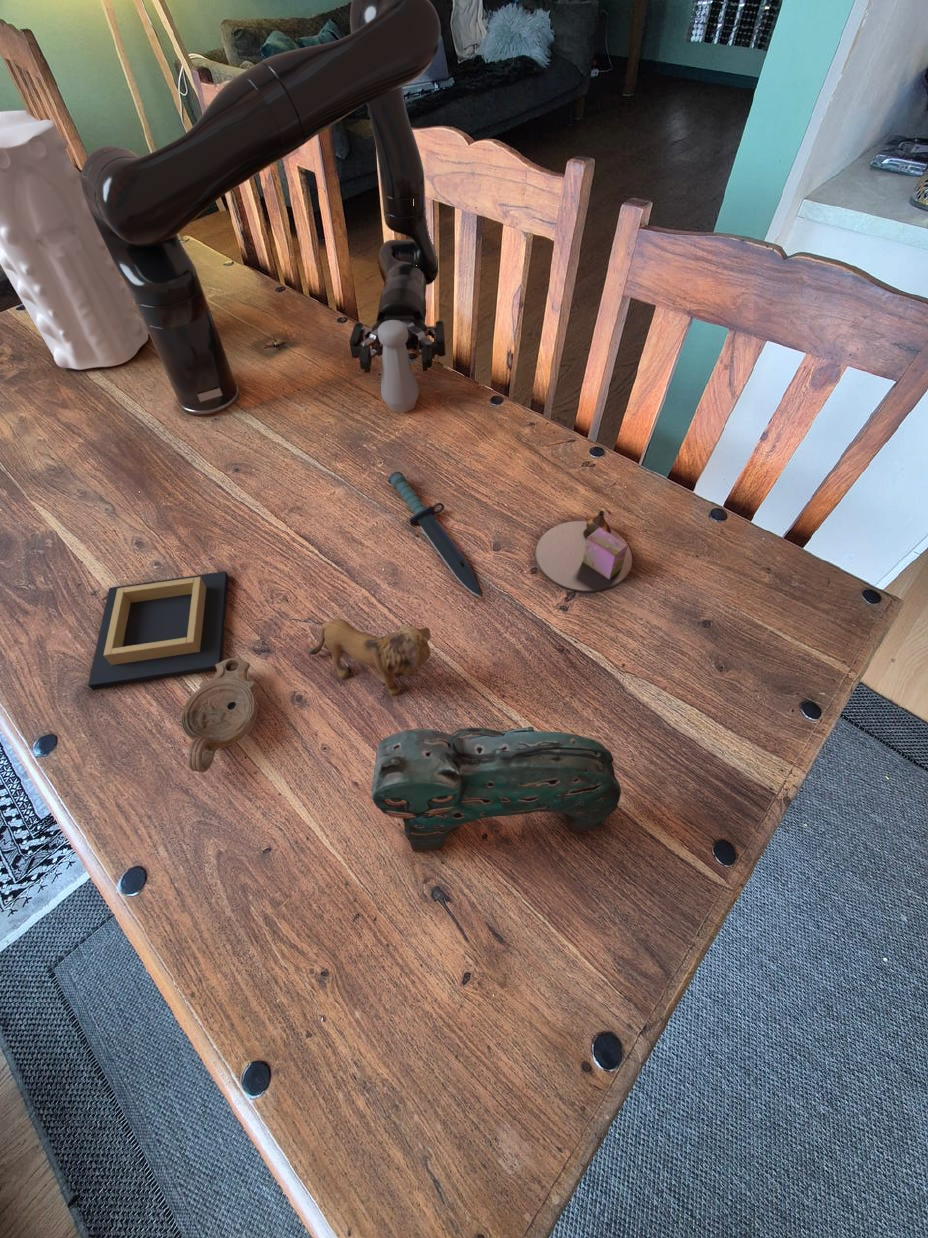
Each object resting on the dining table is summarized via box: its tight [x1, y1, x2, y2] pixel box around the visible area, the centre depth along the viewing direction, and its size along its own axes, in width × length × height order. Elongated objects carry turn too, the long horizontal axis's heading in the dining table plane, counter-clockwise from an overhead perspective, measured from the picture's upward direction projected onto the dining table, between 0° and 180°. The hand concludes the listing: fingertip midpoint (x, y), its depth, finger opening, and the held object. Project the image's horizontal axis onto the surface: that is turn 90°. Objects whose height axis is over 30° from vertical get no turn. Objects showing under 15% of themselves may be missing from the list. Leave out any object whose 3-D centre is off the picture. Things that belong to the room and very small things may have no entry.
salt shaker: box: [378, 320, 420, 414], centre depth 94 cm, size 6×6×13 cm
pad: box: [87, 570, 230, 691], centre depth 73 cm, size 14×14×3 cm
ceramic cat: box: [371, 726, 622, 853], centre depth 52 cm, size 20×6×20 cm, turn 95°
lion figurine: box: [308, 618, 432, 696], centre depth 67 cm, size 15×5×9 cm, turn 75°
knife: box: [388, 471, 483, 597], centre depth 82 cm, size 23×2×5 cm
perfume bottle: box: [534, 510, 633, 594], centre depth 78 cm, size 12×12×4 cm
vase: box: [0, 109, 149, 371], centre depth 100 cm, size 17×16×32 cm
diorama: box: [262, 336, 285, 351], centre depth 110 cm, size 3×4×2 cm
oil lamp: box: [180, 657, 258, 773], centre depth 65 cm, size 13×8×5 cm, turn 174°
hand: (395, 366), depth 93 cm, fingers open, 8 cm apart
